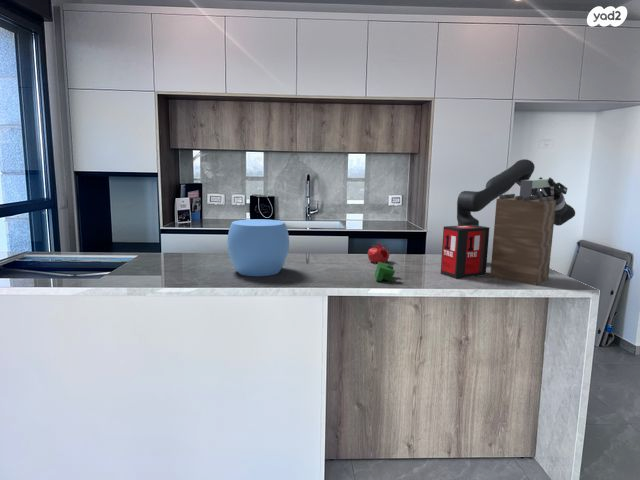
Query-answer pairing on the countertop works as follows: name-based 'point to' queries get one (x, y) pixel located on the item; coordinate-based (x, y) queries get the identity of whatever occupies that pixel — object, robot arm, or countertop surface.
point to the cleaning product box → (464, 251)
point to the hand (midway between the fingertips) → (544, 179)
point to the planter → (258, 246)
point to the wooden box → (523, 238)
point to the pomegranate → (378, 254)
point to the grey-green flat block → (532, 186)
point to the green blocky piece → (384, 272)
